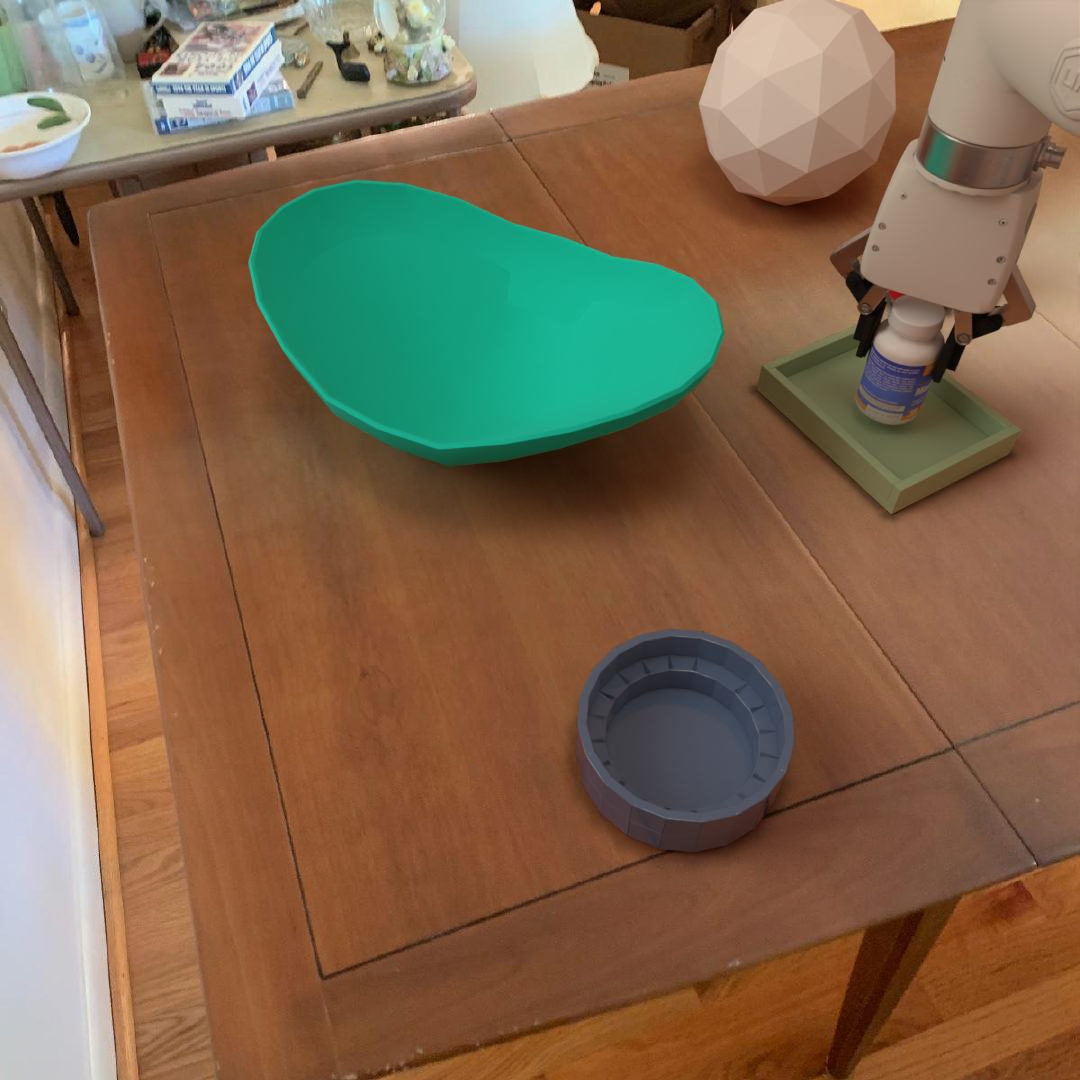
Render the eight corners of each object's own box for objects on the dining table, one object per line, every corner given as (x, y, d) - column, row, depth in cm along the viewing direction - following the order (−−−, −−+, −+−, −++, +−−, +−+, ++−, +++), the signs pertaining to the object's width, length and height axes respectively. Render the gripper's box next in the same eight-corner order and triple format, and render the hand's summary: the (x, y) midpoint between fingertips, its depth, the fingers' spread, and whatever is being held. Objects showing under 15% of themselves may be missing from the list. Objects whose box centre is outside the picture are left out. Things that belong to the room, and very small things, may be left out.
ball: (797, 267, 109) (849, 198, 89) (653, 162, 110) (673, 71, 90) (898, 131, 109) (973, 33, 89) (754, 28, 110) (796, -93, 90)
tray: (1009, 454, 81) (1021, 430, 79) (891, 515, 77) (900, 491, 74) (868, 340, 90) (875, 316, 88) (756, 389, 86) (761, 365, 84)
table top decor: (759, 389, 86) (787, 261, 76) (611, 610, 71) (621, 488, 61) (396, 257, 99) (378, 132, 89) (206, 420, 84) (158, 293, 74)
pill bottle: (916, 433, 80) (954, 338, 72) (849, 418, 81) (879, 324, 73) (922, 390, 83) (959, 295, 75) (857, 377, 84) (887, 282, 76)
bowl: (822, 789, 62) (839, 753, 58) (650, 894, 58) (657, 863, 54) (699, 640, 69) (708, 599, 66) (539, 723, 65) (539, 685, 61)
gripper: (1126, 152, 63) (1022, 367, 77) (868, 92, 69) (815, 302, 83) (1105, 209, 59) (999, 425, 73) (833, 139, 65) (783, 352, 79)
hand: (902, 358), depth 78 cm, fingers closed on pill bottle, 5 cm apart
